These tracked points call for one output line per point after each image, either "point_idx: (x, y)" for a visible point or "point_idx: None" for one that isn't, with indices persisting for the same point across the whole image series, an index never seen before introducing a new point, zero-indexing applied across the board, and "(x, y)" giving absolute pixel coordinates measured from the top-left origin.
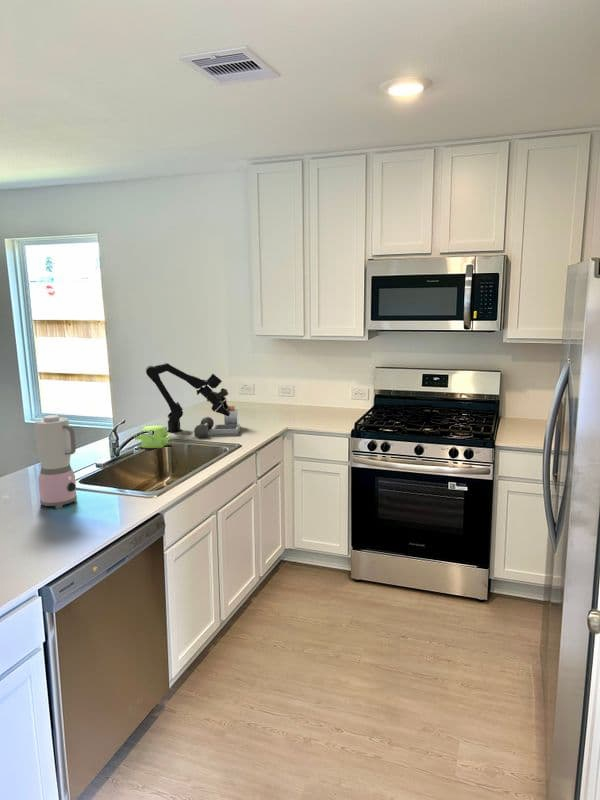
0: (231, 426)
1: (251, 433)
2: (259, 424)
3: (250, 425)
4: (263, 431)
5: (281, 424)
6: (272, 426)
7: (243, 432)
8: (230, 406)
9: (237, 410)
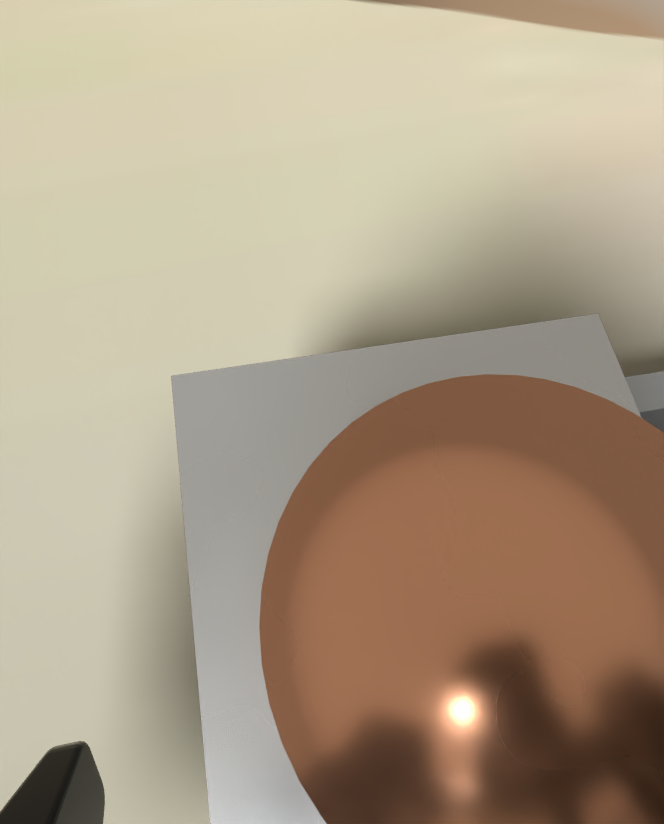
0: None
1: (638, 227)
2: (14, 249)
3: (91, 366)
4: (475, 119)
5: (31, 8)
6: (158, 76)
7: (622, 346)
8: (482, 670)
9: (338, 364)
